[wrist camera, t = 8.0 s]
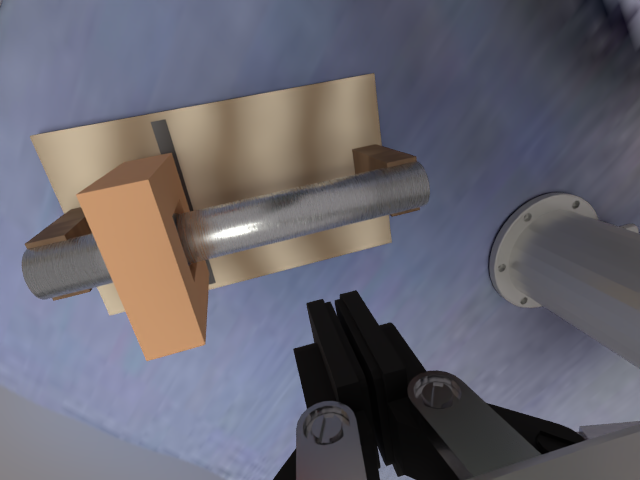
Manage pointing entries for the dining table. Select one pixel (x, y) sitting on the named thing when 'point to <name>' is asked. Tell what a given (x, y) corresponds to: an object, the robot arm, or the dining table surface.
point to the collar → (149, 253)
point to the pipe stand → (234, 166)
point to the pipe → (241, 225)
